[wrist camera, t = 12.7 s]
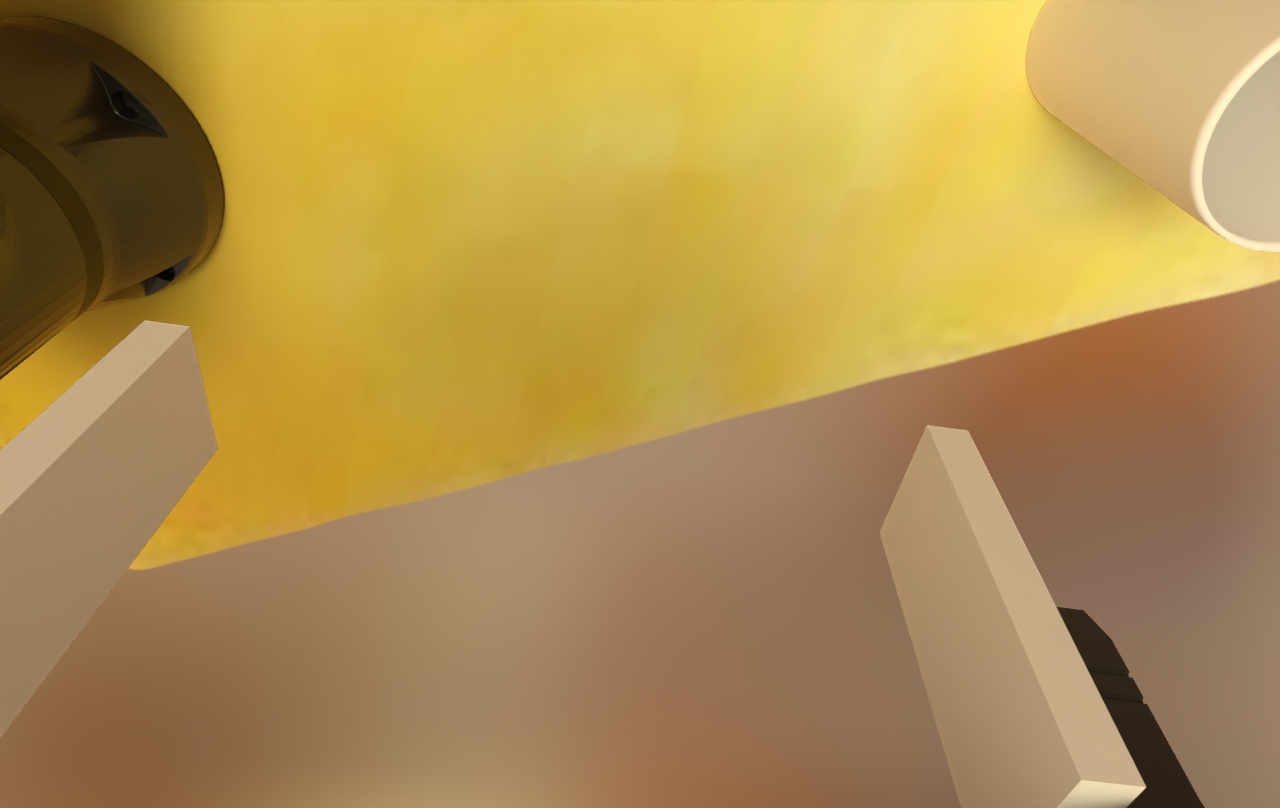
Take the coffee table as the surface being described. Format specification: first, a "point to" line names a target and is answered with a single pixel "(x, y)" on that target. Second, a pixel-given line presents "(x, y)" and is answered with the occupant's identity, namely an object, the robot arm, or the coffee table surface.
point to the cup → (1174, 100)
